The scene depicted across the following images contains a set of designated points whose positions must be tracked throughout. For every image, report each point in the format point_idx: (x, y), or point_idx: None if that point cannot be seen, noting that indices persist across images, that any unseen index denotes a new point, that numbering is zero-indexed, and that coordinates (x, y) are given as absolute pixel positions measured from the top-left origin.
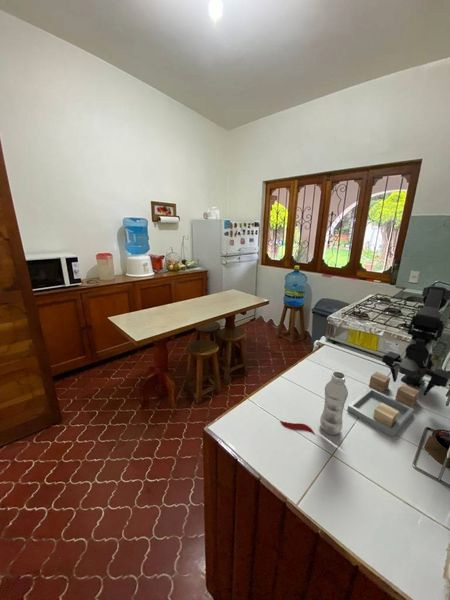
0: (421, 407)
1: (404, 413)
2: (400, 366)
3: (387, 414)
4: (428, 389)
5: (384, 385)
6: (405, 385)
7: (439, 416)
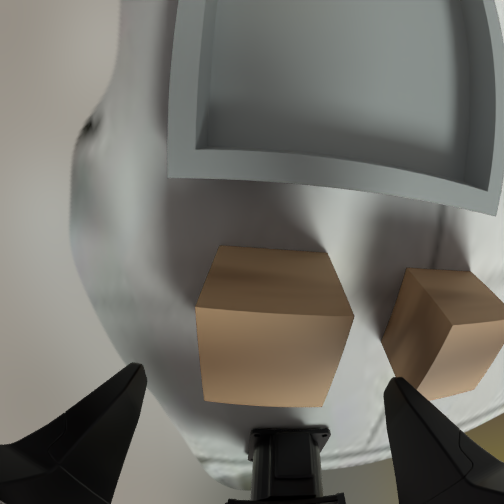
0: (182, 303)
1: (225, 123)
2: None
3: None
4: (75, 414)
5: (433, 311)
6: (304, 402)
7: (100, 289)
